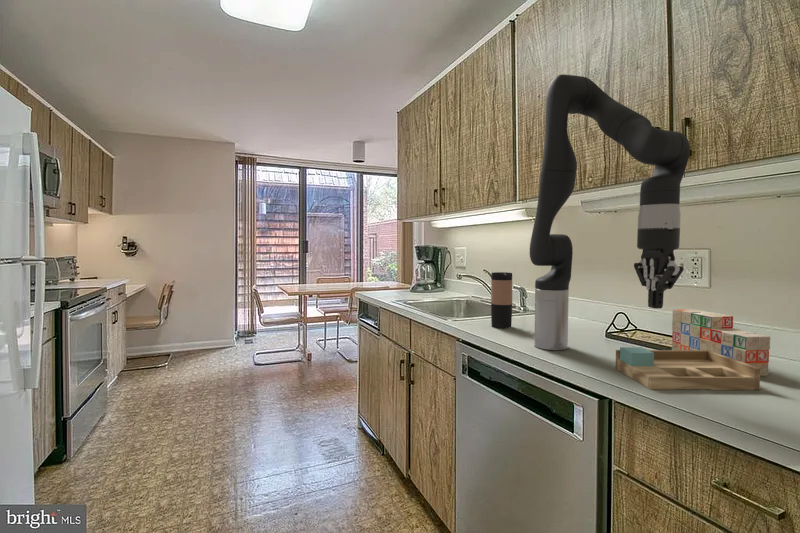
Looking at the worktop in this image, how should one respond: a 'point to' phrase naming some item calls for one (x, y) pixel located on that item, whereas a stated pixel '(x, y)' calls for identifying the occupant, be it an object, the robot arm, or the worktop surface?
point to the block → (636, 356)
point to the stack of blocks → (719, 337)
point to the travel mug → (501, 300)
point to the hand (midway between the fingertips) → (655, 307)
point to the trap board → (693, 371)
